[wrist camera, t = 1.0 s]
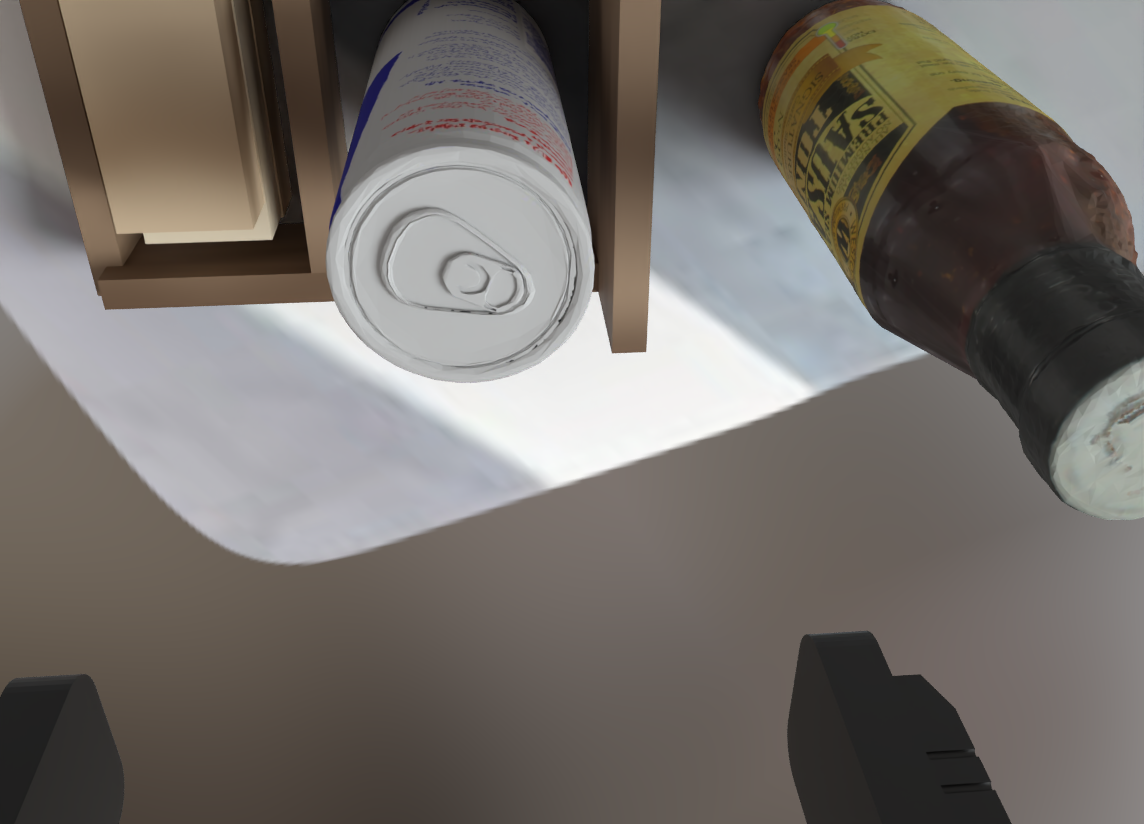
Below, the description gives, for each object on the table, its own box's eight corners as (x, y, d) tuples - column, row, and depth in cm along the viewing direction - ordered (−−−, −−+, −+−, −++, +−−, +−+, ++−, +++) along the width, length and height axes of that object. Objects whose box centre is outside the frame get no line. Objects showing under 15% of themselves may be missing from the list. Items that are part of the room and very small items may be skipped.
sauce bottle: (750, 0, 34) (1018, 272, 17) (945, -19, 34) (1395, 232, 18) (747, 195, 38) (968, 576, 21) (924, 177, 38) (1281, 540, 21)
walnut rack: (26, -134, 30) (-99, -91, 24) (623, -139, 32) (665, -100, 25) (123, 256, 37) (46, 375, 30) (615, 240, 38) (646, 352, 31)
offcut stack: (116, -59, 32) (50, -16, 27) (254, -61, 32) (214, -20, 27) (171, 197, 36) (123, 275, 31) (292, 194, 36) (263, 270, 31)
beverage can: (352, 2, 33) (280, 177, 21) (529, -40, 33) (566, 111, 20) (404, 172, 36) (369, 415, 24) (567, 135, 36) (619, 360, 23)
